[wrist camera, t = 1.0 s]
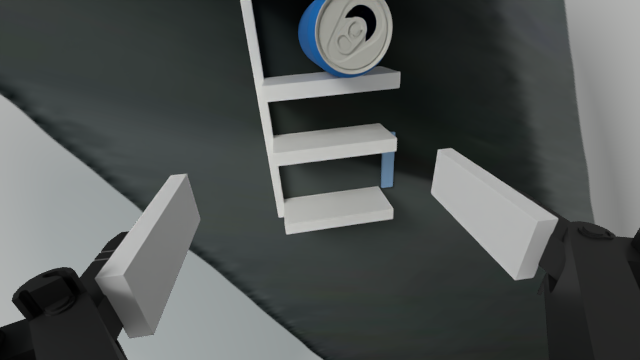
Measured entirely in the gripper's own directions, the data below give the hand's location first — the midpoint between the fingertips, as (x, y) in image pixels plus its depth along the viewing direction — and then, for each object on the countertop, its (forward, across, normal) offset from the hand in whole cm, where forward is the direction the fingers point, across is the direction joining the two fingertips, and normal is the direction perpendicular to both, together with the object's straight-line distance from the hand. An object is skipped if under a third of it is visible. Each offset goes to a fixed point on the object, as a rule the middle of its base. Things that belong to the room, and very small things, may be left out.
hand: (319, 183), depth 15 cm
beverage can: (+21, +4, +7) cm, 23 cm away
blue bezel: (+21, +12, -9) cm, 25 cm away
